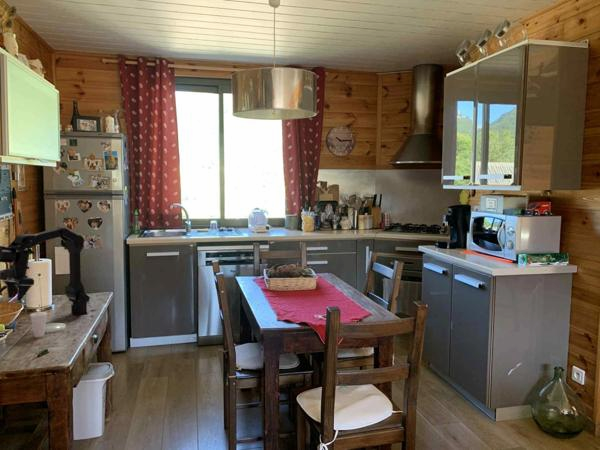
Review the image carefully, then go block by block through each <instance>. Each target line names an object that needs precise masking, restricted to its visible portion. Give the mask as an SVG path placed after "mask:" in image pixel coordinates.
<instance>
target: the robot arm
mask: <svg viewBox="0 0 600 450" xmlns="http://www.w3.org/2000/svg"><path fill="white" fill-rule="evenodd" d="M57 238H60V239H61V240H62V241H63V242H64V243H65V249H66V250H67V252H68V260H69V262H68V263H69V282H68V283H67V285H65V286H64V289H65V292H64V294H65V296H66V297H67V298H68V300H69V302H71V304H70V313H71V315H72V316H83V315H88V314H89V313H88V309H87V308H88V305H87V303H88V302H90V298H91V296H89V295H87V294H86V290H85V286H84V285H83V283H82V279H81V278H82V275H81V274H82V271H81V270H82V269H81V265H82V264H81V253H82V250H83V248H84V245H85V244H84V243H85V238H84V237H83V235H80V234H77V233H75V232H74V231H73V232H72V231H71V230H69V229H68V228H67V227H62V226H58V227H55V228H53V229H48V230H45V231H40V232H37V233H24V234H23V233H22V234H17V235H15V238H14V239H13V240H12V242H11V243H10V244H8V245H7V246H5V245H4V246H3V245H0V263H6V264H9V263H10V265H9V268H4V269H2V270H0V281H2V283H4V284H5V286H6V291H7V297H8V299H11V298H13V296H14V293H15V292H16V290H17V295H16V296H17V297H16V298H17V299H16V300H17V301H18V302H19V301H21V300H22V299H23V298H24V296H25V295H26V294H27V292H28V291H29V290H30V289H31V287H32V286H34V285H35V280H34V278H32V277H28V276H29V275H27V271H28V270H29V269H30V266H29V260H30V259H29V258H30V255H34V254H35V252H34V251H33V250H32V249H33V248H34V247H35V246H37V245H38V244H39V243H43V242H45V241H46V242H47V241H49V240H53V239H57ZM11 263H12V264H11Z"/></svg>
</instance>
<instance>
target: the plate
mask: <svg viewBox="0 0 600 450" xmlns="http://www.w3.org/2000/svg"><path fill="white" fill-rule="evenodd" d="M66 327H67V326H66V324H65V323H63V322H50V323H45V332H44V334H45V333H46V334H49V333H58V332H60V331H63V330H65V329H66Z"/></svg>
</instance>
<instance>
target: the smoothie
mask: <svg viewBox="0 0 600 450" xmlns="http://www.w3.org/2000/svg"><path fill="white" fill-rule="evenodd" d="M47 316H48V312H46V311H41V303H38V311H36V312H32V313H30V314H29V318H30V319H31V320H30V321H31V326H32V331H33V332H32V333H33V336H34V338H42V337H44V336H45V333H44V332H45V324H47V323H46V322H47Z"/></svg>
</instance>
